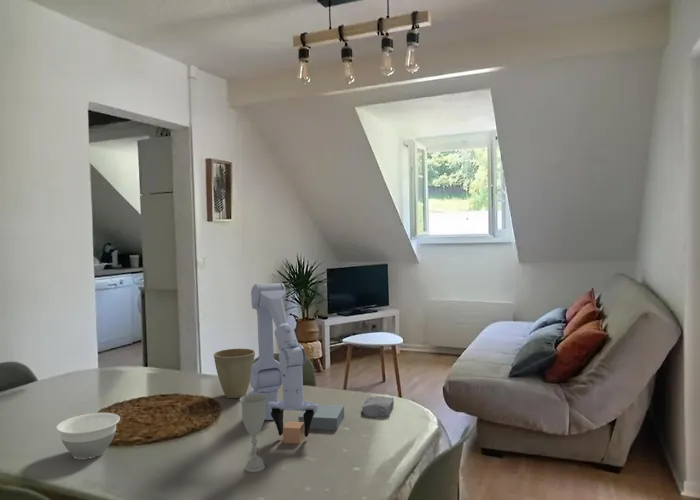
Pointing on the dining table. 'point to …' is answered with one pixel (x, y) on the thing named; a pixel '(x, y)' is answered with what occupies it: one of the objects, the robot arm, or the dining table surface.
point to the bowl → (88, 433)
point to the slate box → (326, 417)
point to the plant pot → (234, 370)
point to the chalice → (253, 425)
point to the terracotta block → (293, 432)
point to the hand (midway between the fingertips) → (293, 434)
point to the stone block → (378, 406)
